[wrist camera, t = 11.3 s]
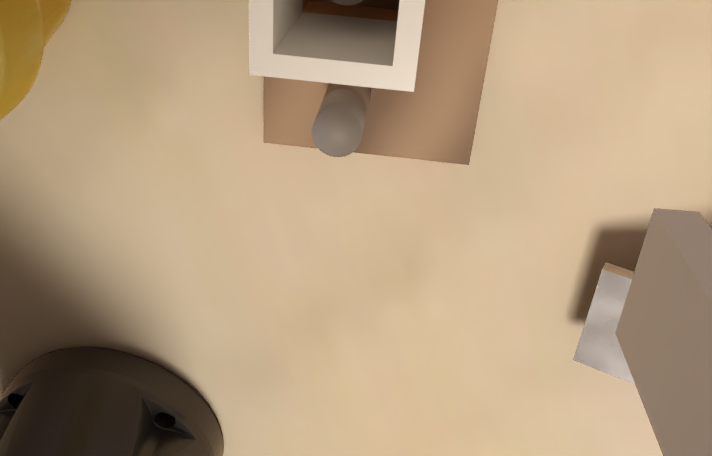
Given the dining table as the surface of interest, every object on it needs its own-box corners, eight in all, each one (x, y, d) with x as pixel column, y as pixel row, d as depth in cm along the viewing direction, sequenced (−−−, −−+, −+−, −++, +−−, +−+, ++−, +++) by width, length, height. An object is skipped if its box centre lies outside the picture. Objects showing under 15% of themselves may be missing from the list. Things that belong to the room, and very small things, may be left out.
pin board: (269, 130, 34) (238, 189, 29) (272, -138, 28) (233, -130, 22) (467, 151, 34) (474, 215, 28) (514, -116, 28) (535, -102, 22)
